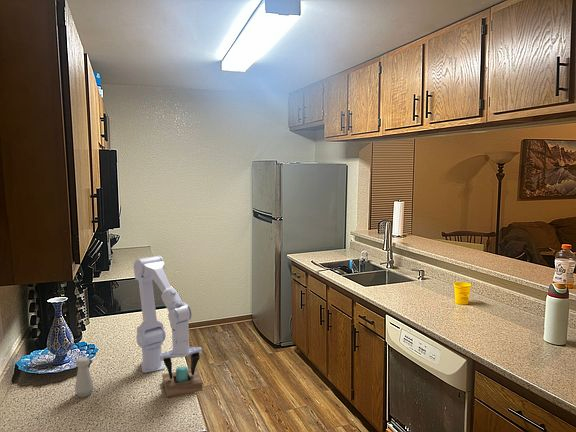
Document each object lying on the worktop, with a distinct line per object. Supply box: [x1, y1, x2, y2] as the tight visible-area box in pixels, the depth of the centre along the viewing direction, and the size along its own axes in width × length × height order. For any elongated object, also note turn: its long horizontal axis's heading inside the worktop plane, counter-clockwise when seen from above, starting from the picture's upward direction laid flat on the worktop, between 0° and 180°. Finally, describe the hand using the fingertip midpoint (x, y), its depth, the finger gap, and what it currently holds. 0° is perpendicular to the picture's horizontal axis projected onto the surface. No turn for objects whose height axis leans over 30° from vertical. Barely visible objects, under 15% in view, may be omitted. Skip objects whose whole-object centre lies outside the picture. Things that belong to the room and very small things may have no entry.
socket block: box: [162, 368, 203, 399], centre depth 158 cm, size 12×12×3 cm
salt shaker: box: [74, 356, 94, 398], centre depth 152 cm, size 6×6×13 cm
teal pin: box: [175, 366, 188, 383], centre depth 158 cm, size 4×4×6 cm
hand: (181, 375), depth 158 cm, fingers open, 7 cm apart
